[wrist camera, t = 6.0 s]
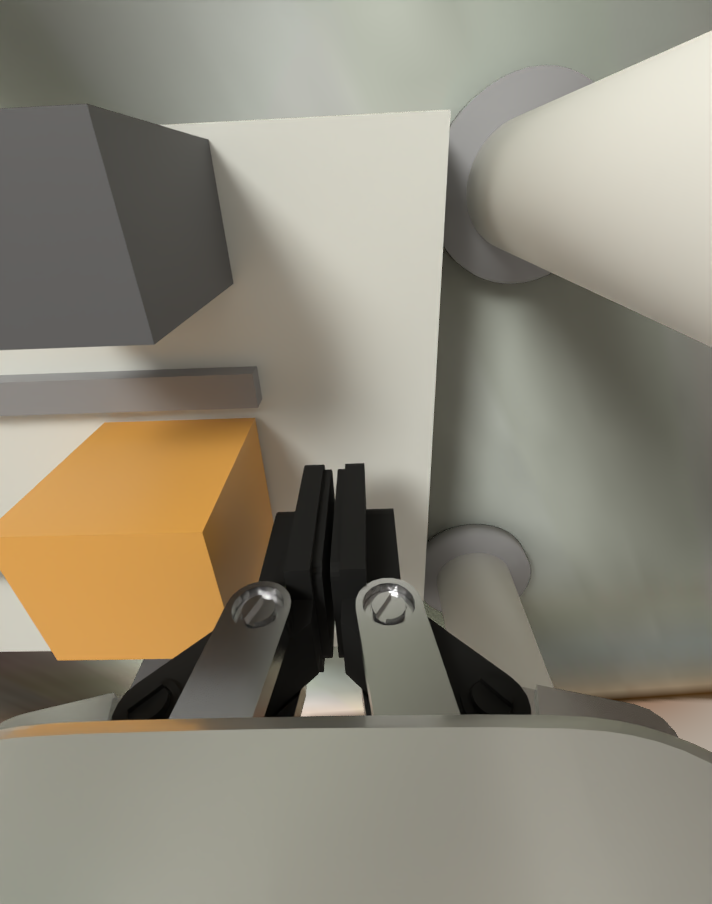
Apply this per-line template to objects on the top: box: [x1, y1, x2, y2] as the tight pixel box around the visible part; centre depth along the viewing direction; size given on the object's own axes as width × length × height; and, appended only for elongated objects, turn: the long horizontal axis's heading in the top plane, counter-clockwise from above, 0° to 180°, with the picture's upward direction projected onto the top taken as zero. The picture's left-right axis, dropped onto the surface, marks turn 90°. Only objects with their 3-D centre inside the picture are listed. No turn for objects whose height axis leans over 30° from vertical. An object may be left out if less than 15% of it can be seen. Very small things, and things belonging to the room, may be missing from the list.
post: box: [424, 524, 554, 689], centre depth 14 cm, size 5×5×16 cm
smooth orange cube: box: [0, 418, 274, 660], centre depth 12 cm, size 4×4×5 cm
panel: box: [0, 104, 451, 689], centre depth 13 cm, size 19×18×8 cm
